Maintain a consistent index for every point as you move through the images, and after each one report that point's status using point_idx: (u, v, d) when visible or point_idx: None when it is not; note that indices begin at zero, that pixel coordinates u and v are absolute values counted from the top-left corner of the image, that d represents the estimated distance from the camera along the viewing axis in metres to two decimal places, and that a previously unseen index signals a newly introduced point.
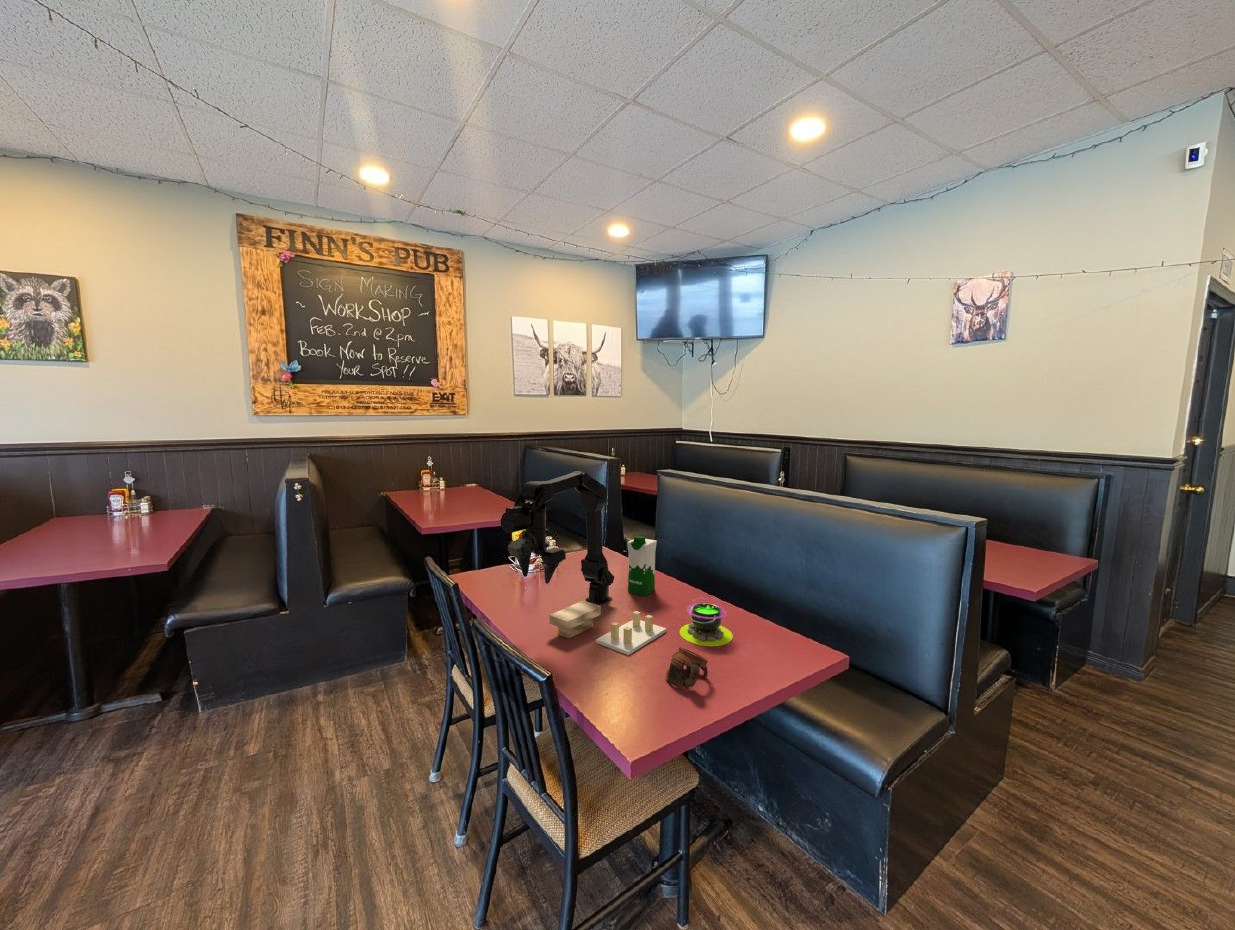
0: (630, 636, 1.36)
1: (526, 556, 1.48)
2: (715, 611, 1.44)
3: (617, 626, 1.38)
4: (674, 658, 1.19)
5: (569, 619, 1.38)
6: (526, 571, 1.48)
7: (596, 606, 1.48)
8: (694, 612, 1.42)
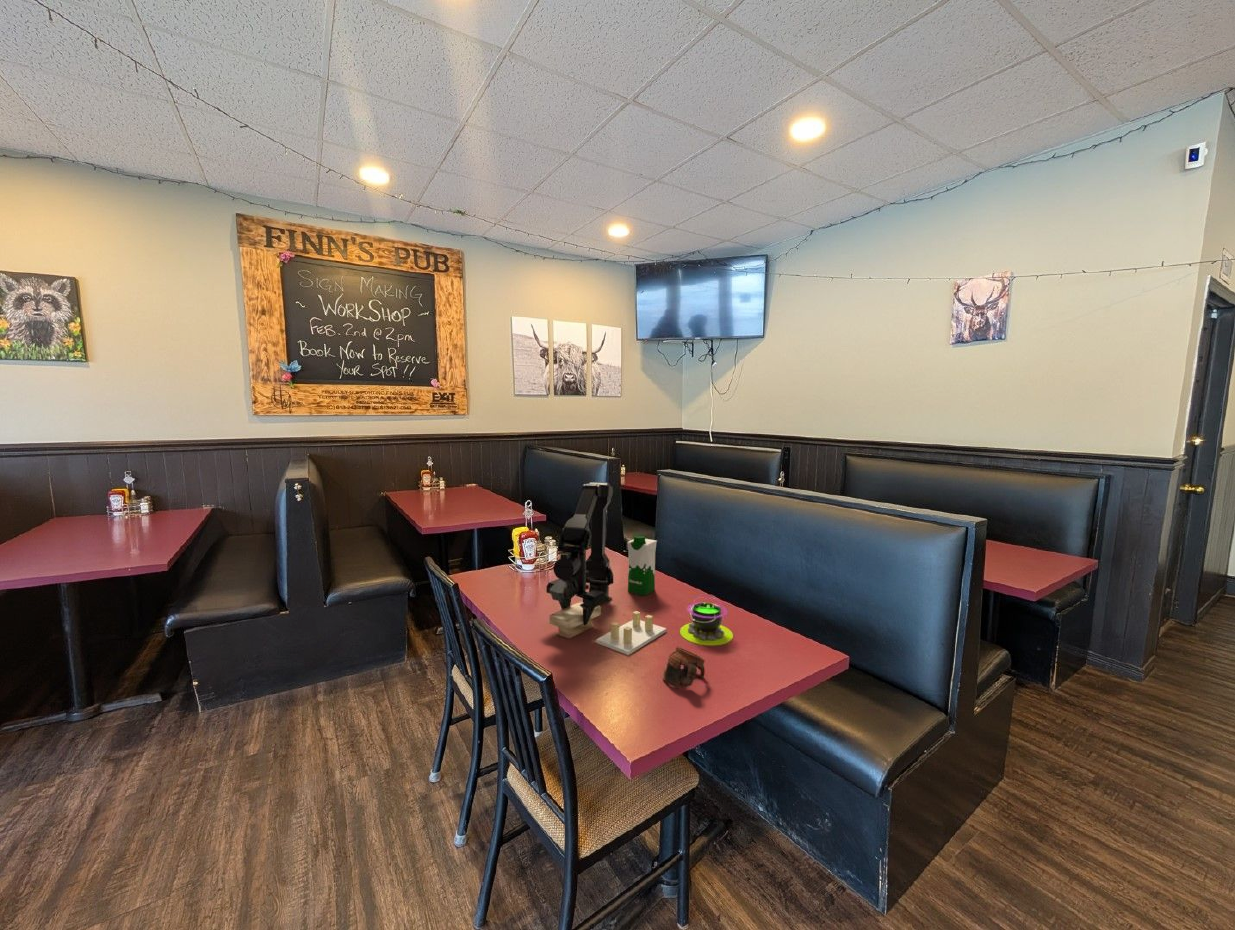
0: (630, 636, 1.36)
1: (567, 597, 1.47)
2: (715, 610, 1.45)
3: (617, 626, 1.38)
4: (671, 658, 1.19)
5: (569, 619, 1.38)
6: None
7: None
8: (694, 611, 1.42)
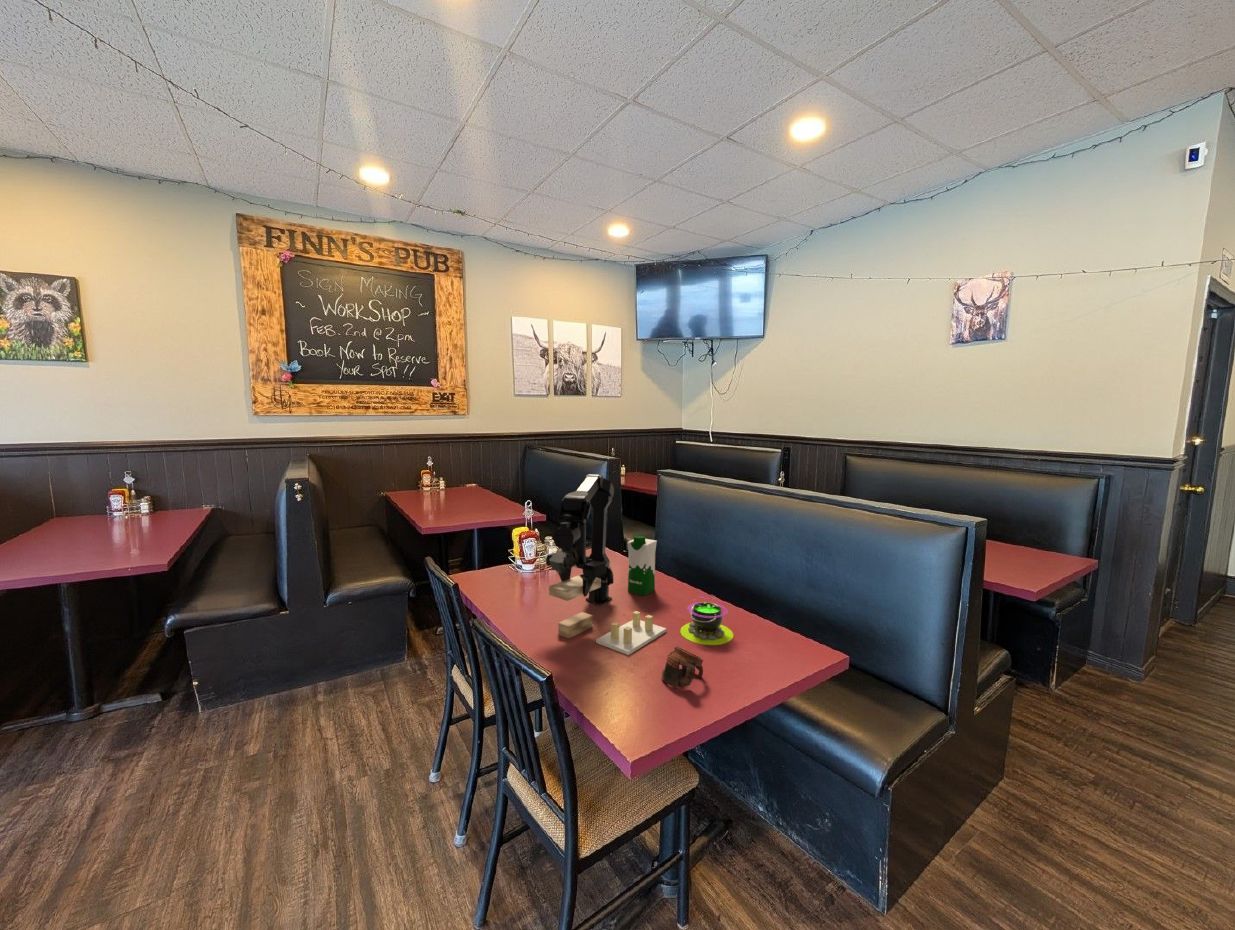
0: (630, 636, 1.36)
1: (567, 570, 1.46)
2: (716, 610, 1.45)
3: (617, 626, 1.38)
4: (670, 658, 1.19)
5: (569, 590, 1.37)
6: None
7: (596, 578, 1.47)
8: (695, 611, 1.43)
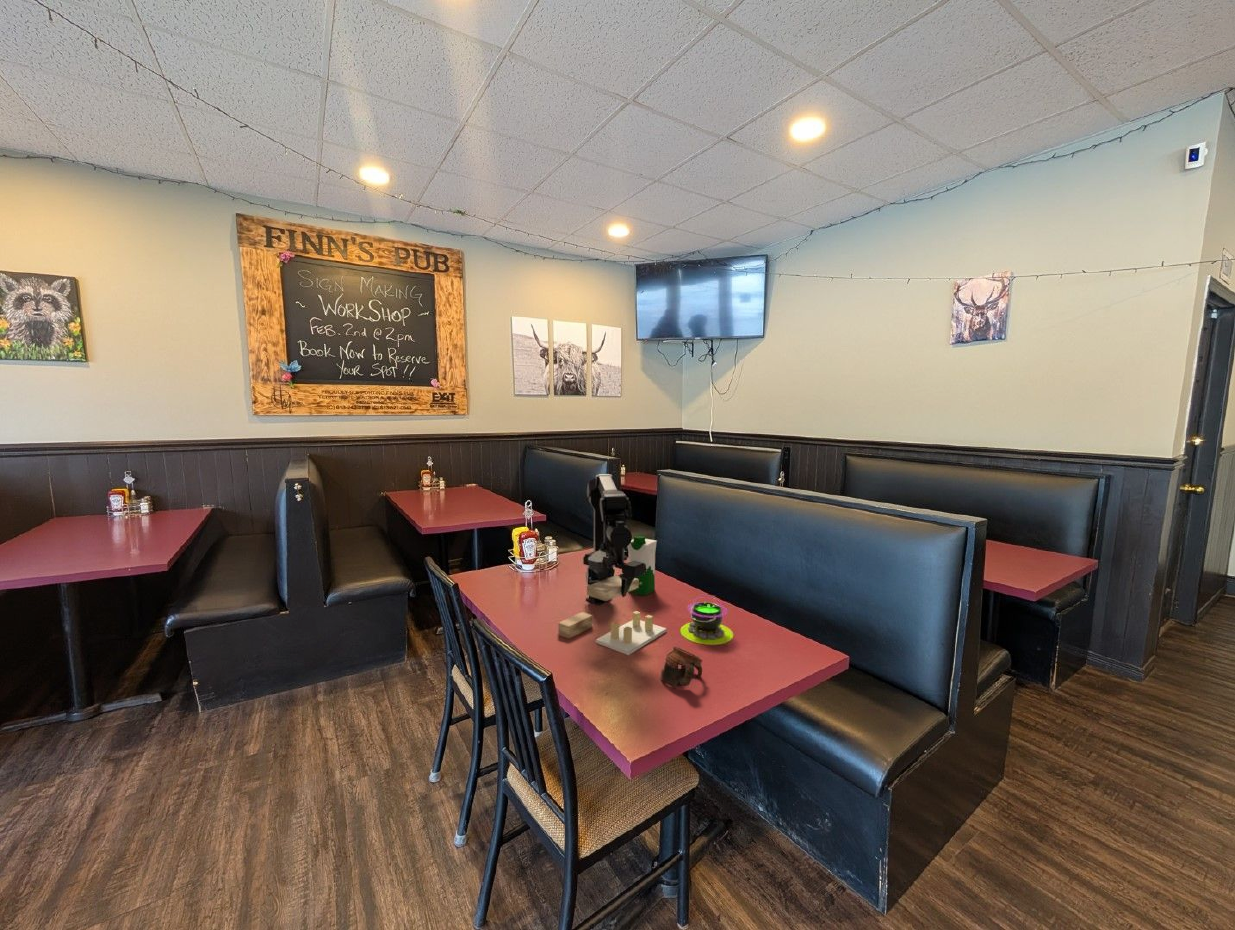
0: (630, 636, 1.36)
1: (604, 569, 1.44)
2: (716, 610, 1.45)
3: (617, 626, 1.38)
4: (669, 658, 1.19)
5: (607, 590, 1.34)
6: None
7: (634, 579, 1.44)
8: (695, 611, 1.43)
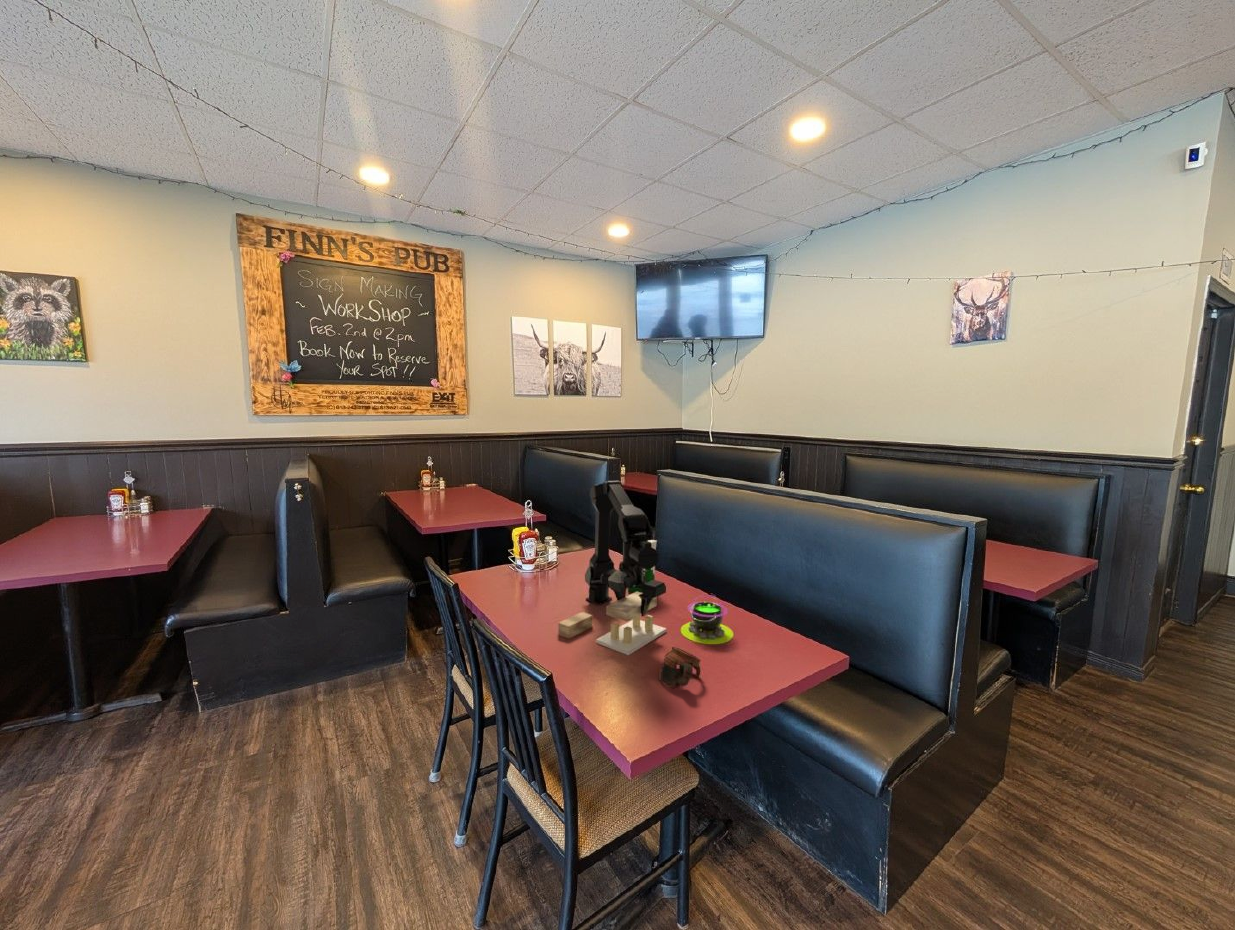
0: (630, 636, 1.36)
1: None
2: (716, 609, 1.46)
3: (617, 626, 1.38)
4: (667, 658, 1.19)
5: (628, 610, 1.34)
6: None
7: None
8: (695, 610, 1.43)
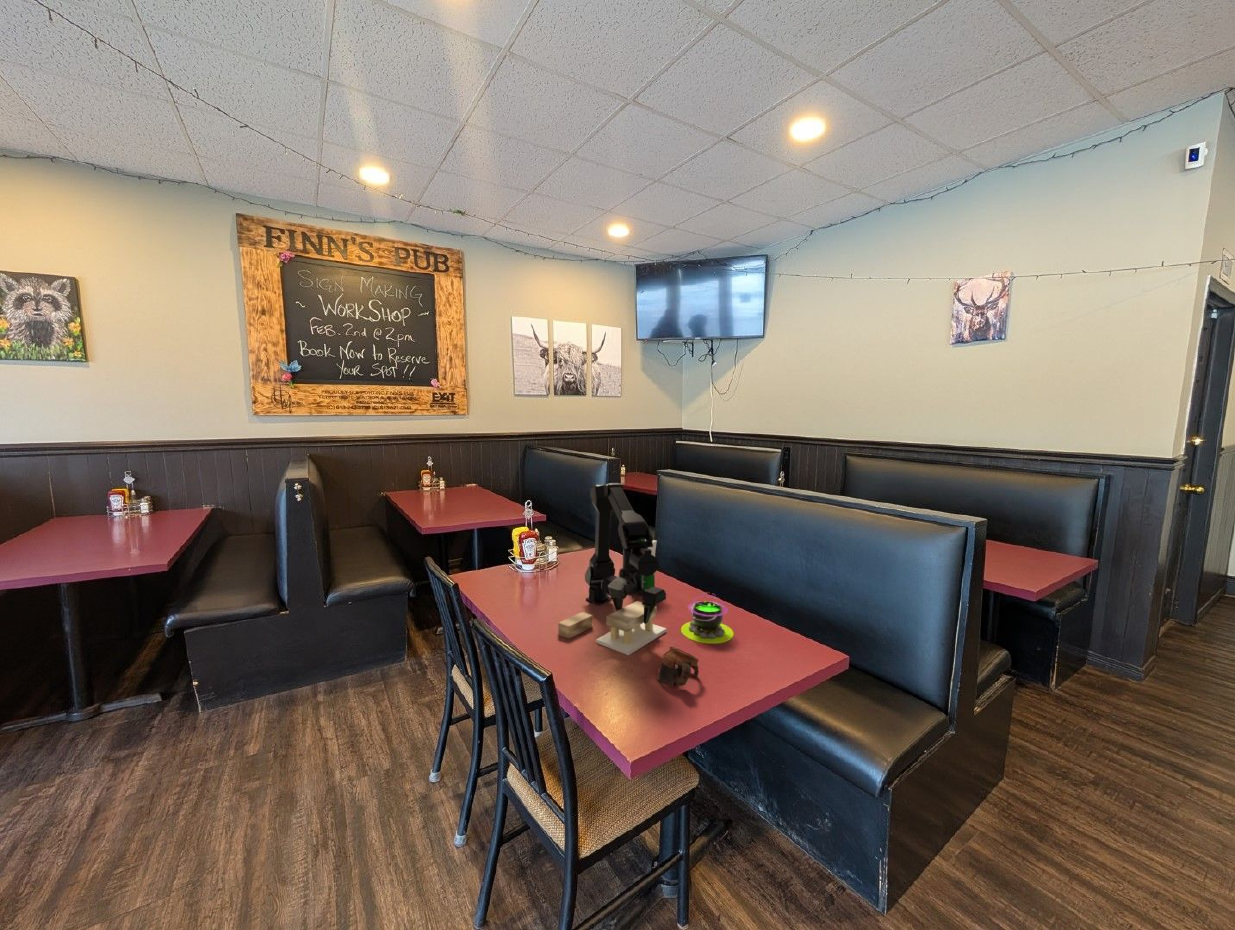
0: (630, 636, 1.36)
1: None
2: (716, 609, 1.46)
3: None
4: (665, 657, 1.19)
5: (628, 620, 1.34)
6: None
7: None
8: (695, 610, 1.44)
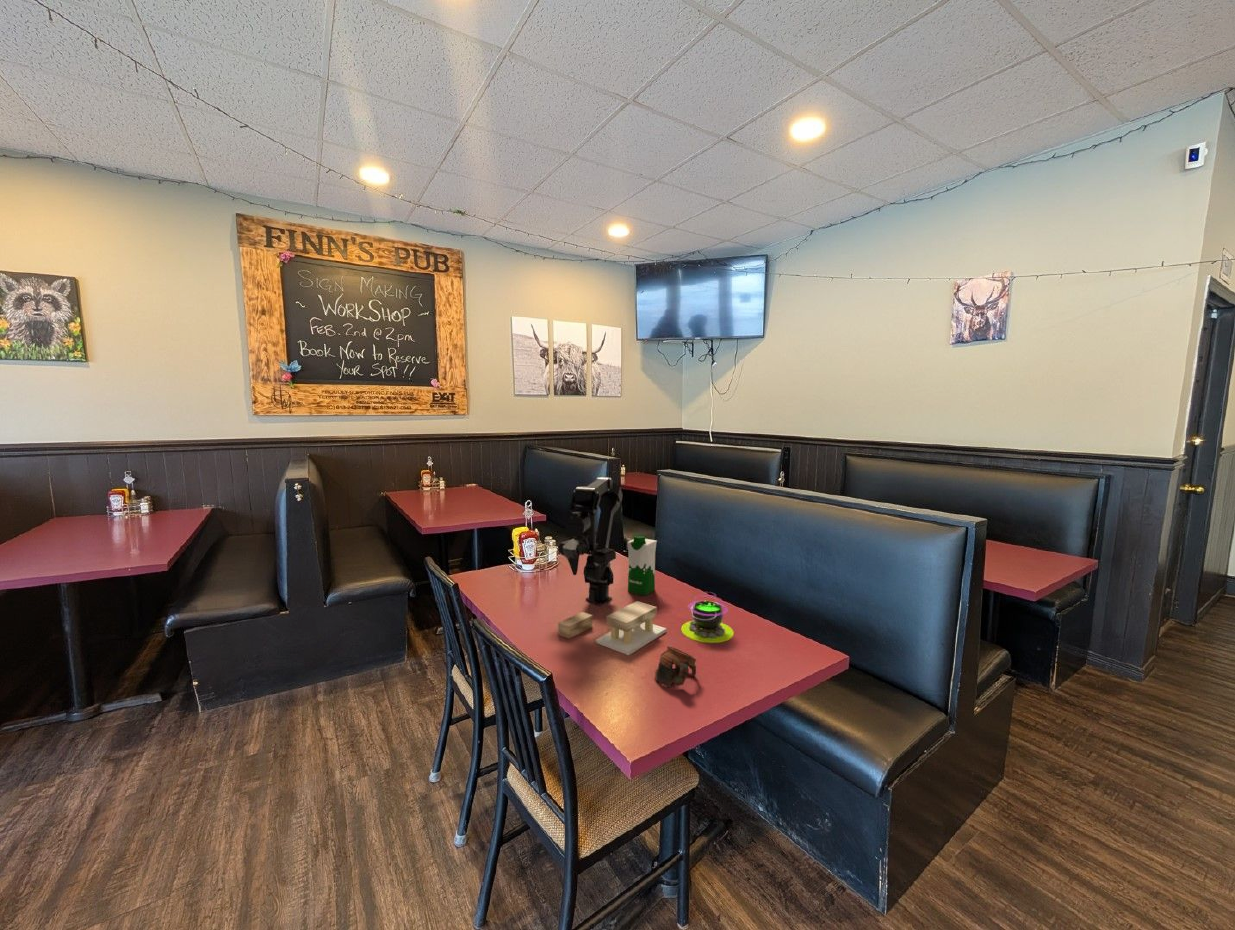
0: (630, 636, 1.36)
1: None
2: (716, 608, 1.46)
3: None
4: (663, 657, 1.19)
5: (628, 620, 1.34)
6: (575, 570, 1.57)
7: (652, 607, 1.44)
8: (695, 609, 1.44)
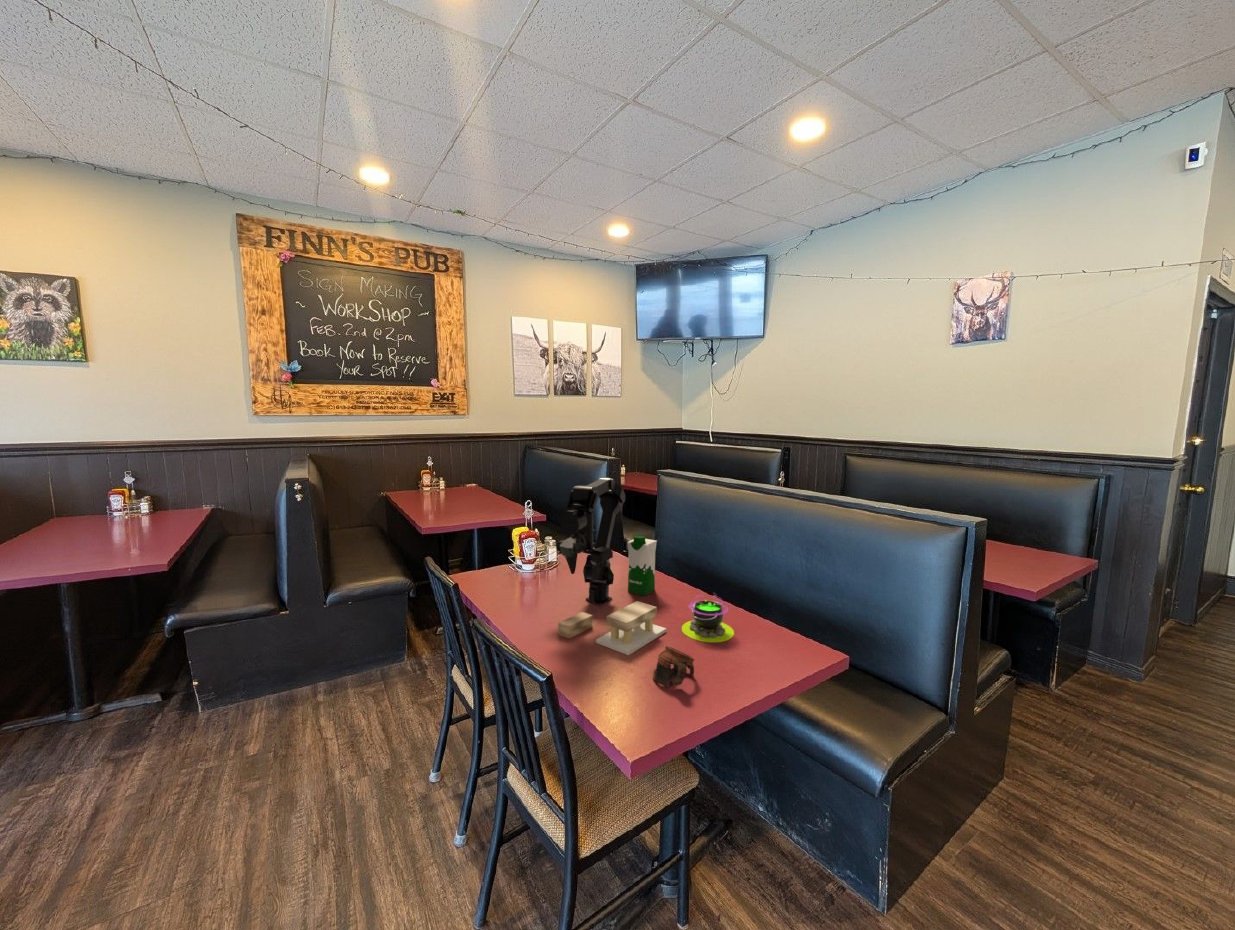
0: (630, 636, 1.36)
1: None
2: (717, 608, 1.47)
3: None
4: (661, 657, 1.19)
5: (628, 620, 1.34)
6: (573, 569, 1.58)
7: (652, 607, 1.44)
8: (696, 609, 1.44)
